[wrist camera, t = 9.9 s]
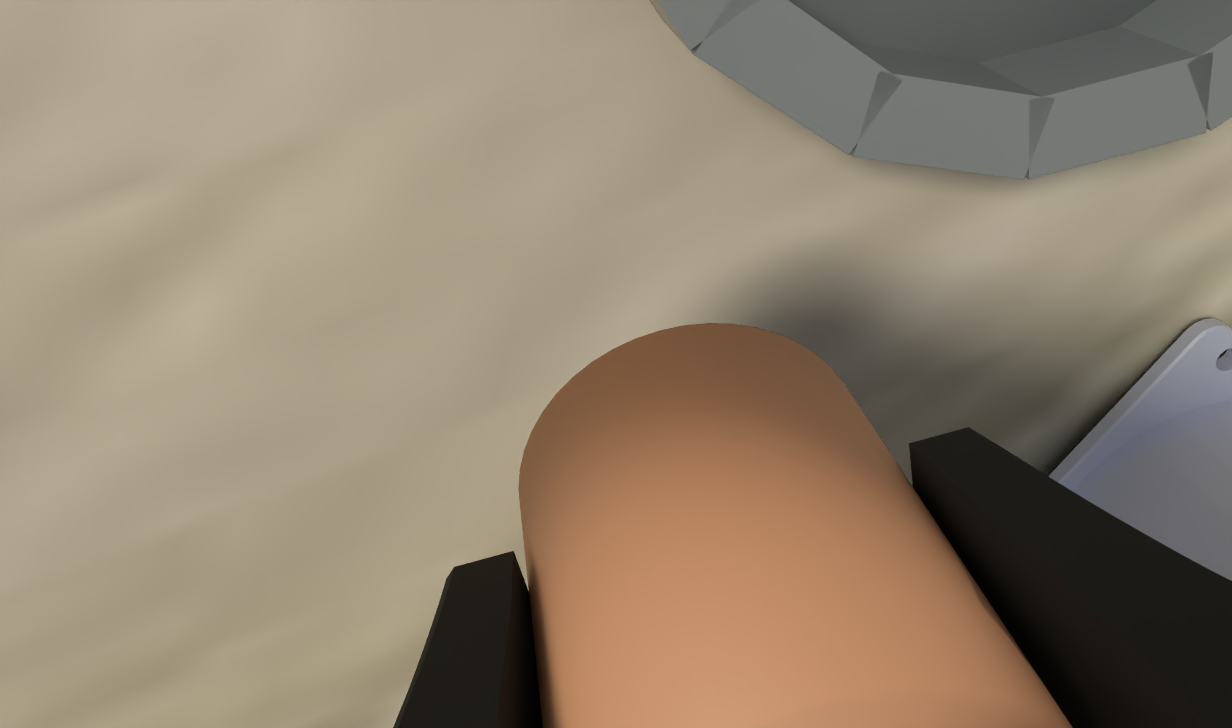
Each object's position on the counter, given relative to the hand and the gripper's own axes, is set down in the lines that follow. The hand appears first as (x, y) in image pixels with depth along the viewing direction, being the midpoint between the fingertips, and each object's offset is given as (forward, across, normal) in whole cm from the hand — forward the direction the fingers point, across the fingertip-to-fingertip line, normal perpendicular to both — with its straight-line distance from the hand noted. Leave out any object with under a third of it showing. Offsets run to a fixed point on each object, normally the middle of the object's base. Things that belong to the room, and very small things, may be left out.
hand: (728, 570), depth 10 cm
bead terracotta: (+2, 0, 0) cm, 2 cm away
